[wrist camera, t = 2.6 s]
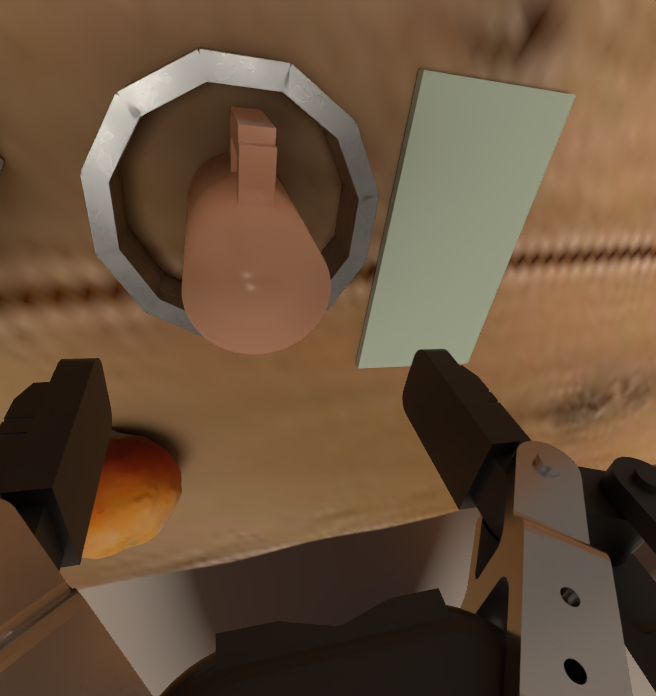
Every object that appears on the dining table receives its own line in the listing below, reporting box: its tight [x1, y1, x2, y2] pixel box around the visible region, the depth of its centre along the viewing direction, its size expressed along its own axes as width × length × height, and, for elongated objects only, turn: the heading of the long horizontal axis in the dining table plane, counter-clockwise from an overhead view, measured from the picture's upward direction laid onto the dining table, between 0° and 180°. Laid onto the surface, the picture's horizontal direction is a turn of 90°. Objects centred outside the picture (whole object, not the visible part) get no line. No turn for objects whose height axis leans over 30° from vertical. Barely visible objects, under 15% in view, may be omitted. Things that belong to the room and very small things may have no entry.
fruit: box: [82, 428, 182, 559], centre depth 28 cm, size 8×8×8 cm
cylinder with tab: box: [182, 106, 331, 354], centre depth 17 cm, size 7×5×10 cm
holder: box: [80, 48, 379, 337], centre depth 21 cm, size 13×13×3 cm
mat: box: [356, 69, 576, 368], centre depth 26 cm, size 18×9×1 cm, turn 172°
